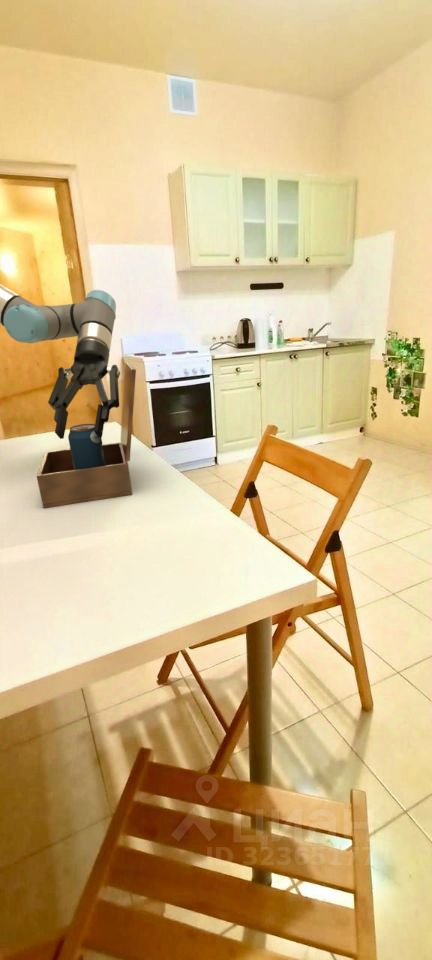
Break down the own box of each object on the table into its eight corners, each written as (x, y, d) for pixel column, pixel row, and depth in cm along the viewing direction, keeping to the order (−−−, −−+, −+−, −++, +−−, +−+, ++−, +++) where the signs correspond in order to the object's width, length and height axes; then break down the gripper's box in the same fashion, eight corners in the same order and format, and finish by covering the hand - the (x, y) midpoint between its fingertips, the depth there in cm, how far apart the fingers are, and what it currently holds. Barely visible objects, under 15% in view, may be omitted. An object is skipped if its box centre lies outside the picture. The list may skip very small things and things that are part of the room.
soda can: (113, 476, 102) (105, 425, 97) (87, 486, 97) (77, 432, 93) (96, 471, 106) (87, 421, 102) (70, 480, 101) (60, 428, 97)
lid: (131, 369, 85) (136, 369, 85) (125, 361, 101) (128, 361, 101) (125, 461, 90) (129, 461, 90) (120, 440, 106) (123, 440, 106)
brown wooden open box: (43, 508, 89) (36, 476, 87) (50, 479, 105) (44, 451, 103) (132, 494, 93) (128, 463, 90) (126, 468, 109) (122, 442, 106)
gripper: (140, 357, 106) (131, 442, 97) (57, 361, 108) (40, 444, 99) (132, 335, 99) (120, 423, 90) (43, 340, 101) (23, 427, 92)
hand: (78, 434), depth 94 cm, fingers open, 8 cm apart
